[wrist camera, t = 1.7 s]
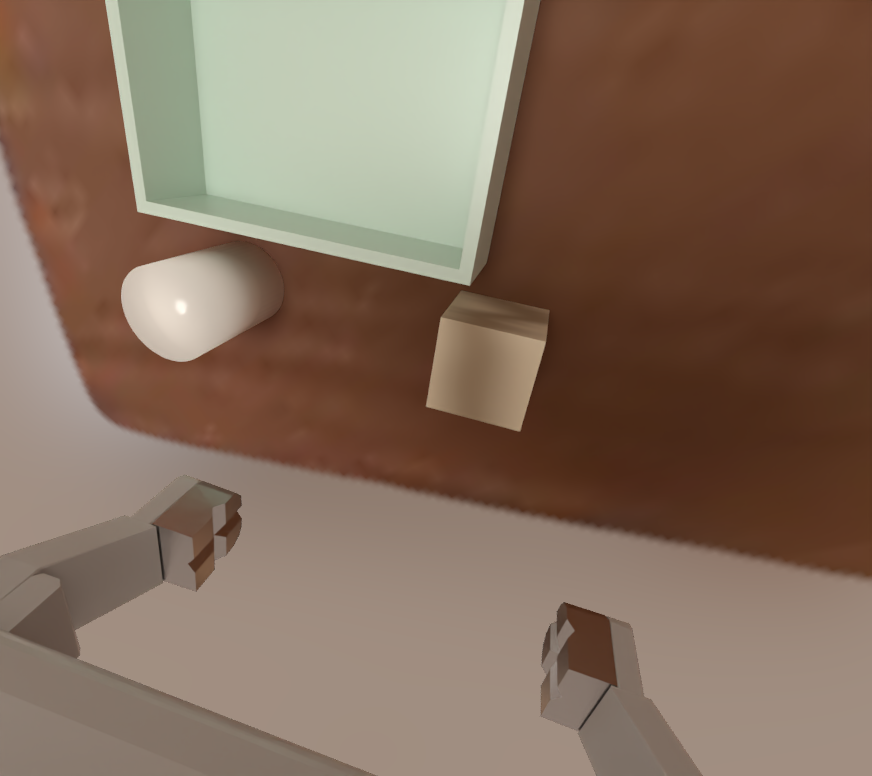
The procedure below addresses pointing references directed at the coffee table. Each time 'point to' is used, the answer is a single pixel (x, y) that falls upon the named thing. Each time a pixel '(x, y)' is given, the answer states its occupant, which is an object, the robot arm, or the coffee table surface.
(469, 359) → the beech cube
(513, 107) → the tray
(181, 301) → the ceramic cylinder
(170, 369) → the coffee table surface
